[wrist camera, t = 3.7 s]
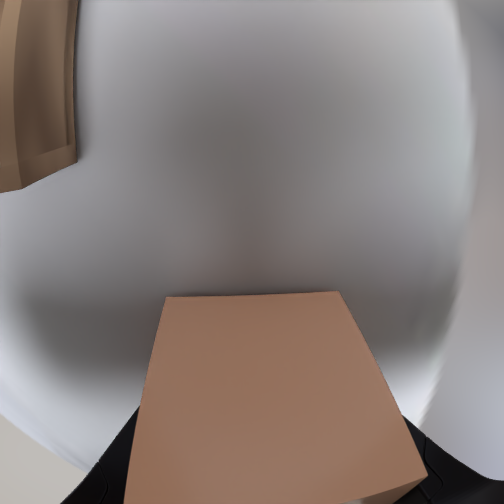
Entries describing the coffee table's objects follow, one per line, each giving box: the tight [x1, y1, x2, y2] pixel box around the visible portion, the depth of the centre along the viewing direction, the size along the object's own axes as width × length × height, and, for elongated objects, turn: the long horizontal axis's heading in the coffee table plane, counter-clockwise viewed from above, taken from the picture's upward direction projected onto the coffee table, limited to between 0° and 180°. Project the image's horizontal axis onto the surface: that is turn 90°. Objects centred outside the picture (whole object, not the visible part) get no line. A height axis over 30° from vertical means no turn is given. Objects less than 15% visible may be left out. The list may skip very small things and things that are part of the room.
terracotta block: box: [124, 291, 428, 504], centre depth 7 cm, size 5×5×6 cm
